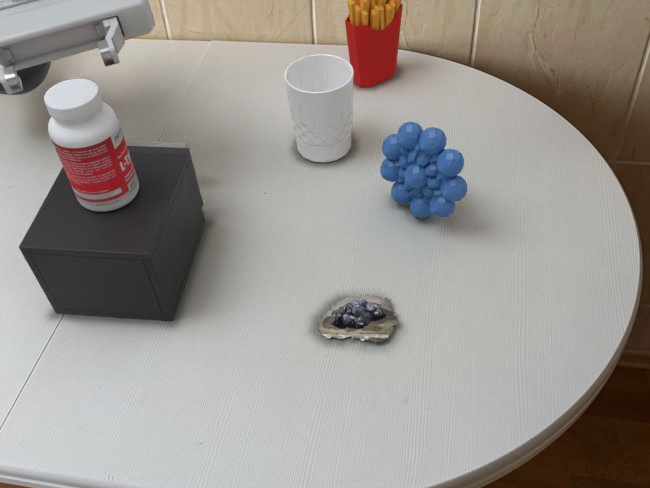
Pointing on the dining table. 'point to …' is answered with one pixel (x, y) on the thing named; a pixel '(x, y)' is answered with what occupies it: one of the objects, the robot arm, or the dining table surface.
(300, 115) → the white cup
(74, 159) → the pill bottle
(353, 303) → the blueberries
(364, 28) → the french fries
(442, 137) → the grapes
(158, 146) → the drawer
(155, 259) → the cabinet
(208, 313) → the dining table surface
